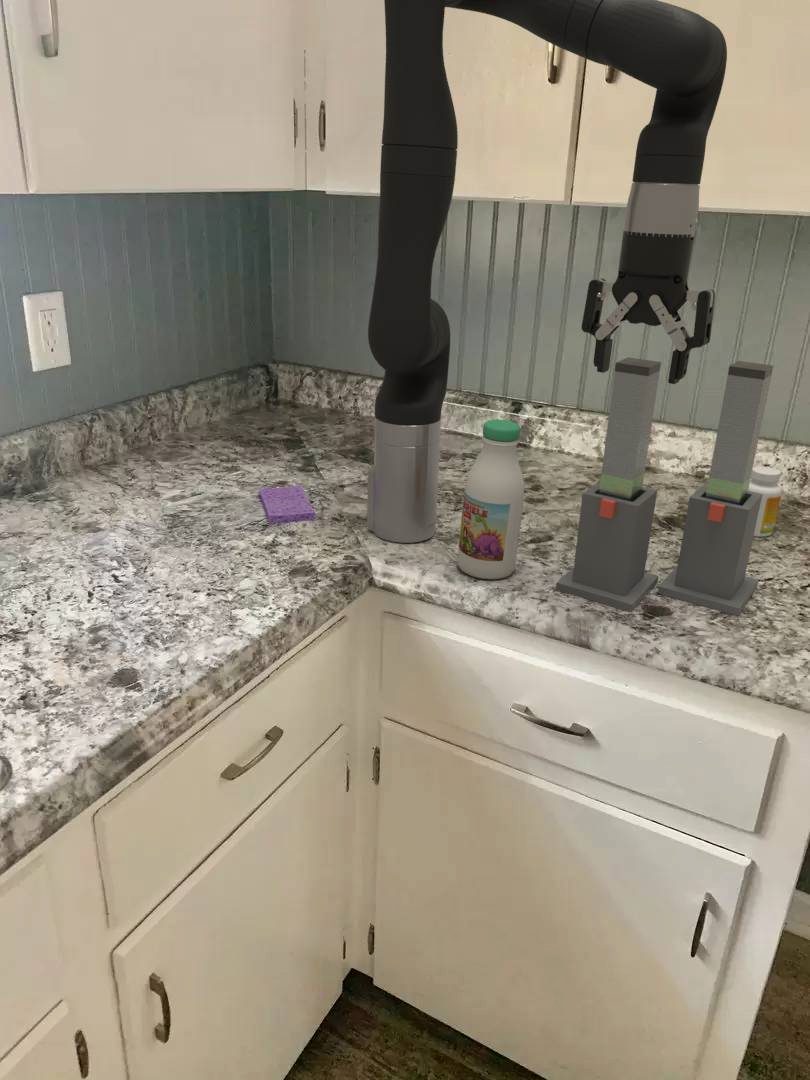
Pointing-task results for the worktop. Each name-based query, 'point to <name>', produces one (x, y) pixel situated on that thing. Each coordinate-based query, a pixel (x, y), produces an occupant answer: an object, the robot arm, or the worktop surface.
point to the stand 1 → (612, 550)
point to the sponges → (286, 504)
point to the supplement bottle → (766, 498)
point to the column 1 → (629, 428)
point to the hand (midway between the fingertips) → (637, 377)
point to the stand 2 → (715, 554)
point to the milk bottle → (493, 505)
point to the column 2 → (738, 431)
